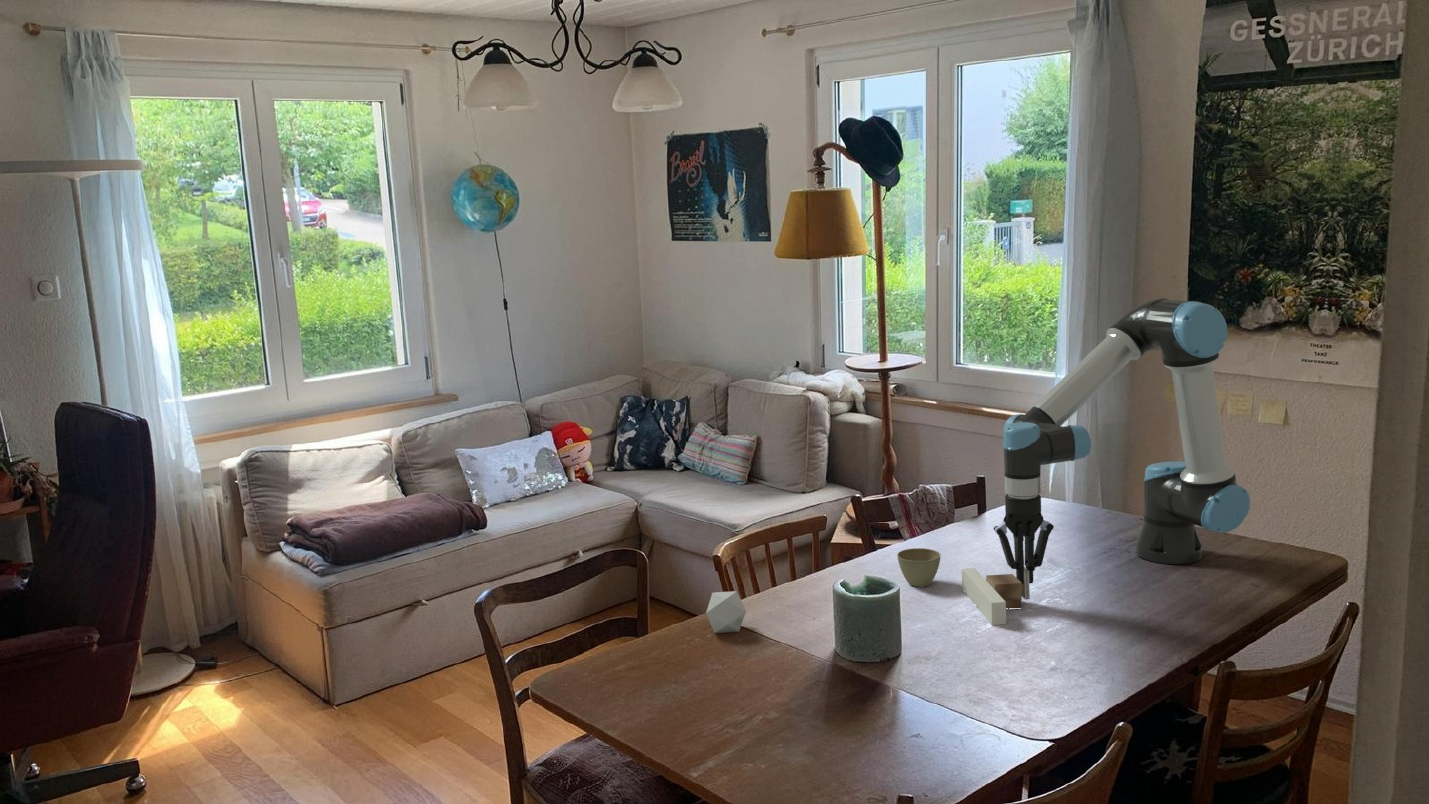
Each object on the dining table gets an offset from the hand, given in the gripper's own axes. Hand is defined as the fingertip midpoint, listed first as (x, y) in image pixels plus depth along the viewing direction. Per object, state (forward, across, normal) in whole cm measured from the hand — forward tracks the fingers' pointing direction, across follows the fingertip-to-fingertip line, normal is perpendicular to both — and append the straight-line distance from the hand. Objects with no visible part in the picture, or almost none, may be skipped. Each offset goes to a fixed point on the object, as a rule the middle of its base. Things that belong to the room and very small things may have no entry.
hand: (1025, 597), depth 243 cm
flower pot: (+1, +20, -17) cm, 26 cm away
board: (+1, +10, 0) cm, 10 cm away
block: (+1, +5, 0) cm, 5 cm away
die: (0, +66, +3) cm, 67 cm away
